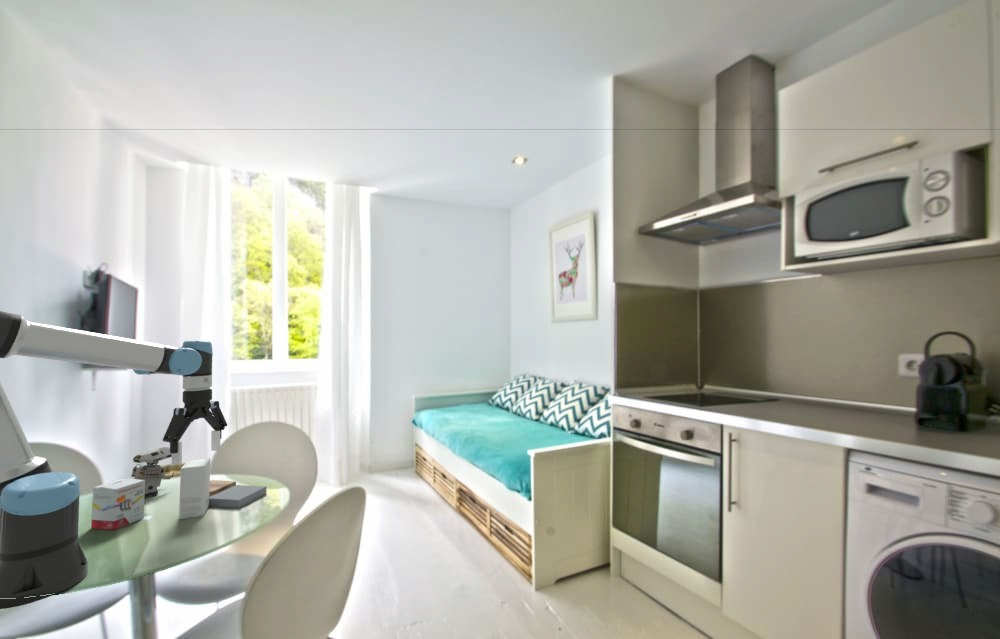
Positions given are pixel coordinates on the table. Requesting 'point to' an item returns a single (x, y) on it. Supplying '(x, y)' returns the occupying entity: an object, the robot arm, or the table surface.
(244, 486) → the slate slab
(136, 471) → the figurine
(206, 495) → the skincare box
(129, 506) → the ink box
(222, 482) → the walnut stand
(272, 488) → the table surface
